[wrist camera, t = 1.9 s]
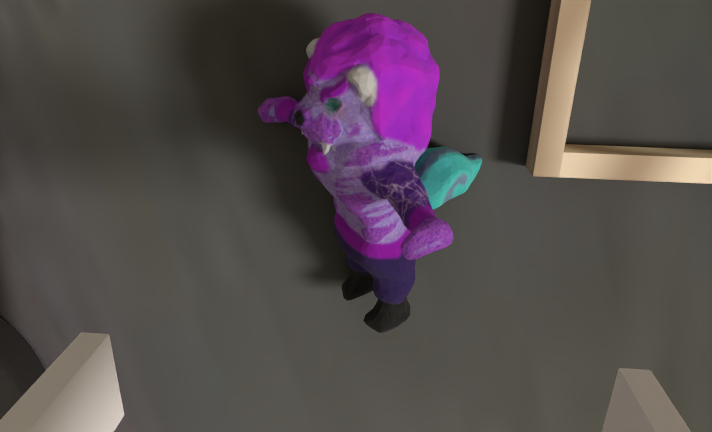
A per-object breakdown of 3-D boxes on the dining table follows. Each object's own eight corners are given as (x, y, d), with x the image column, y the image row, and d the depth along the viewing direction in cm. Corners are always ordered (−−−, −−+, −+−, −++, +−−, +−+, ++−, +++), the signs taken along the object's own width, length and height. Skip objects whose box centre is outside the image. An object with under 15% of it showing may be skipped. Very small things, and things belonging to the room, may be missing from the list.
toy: (263, 264, 31) (222, -10, 22) (401, 209, 35) (415, -42, 26) (381, 427, 23) (394, 101, 14) (542, 331, 27) (637, 30, 18)
